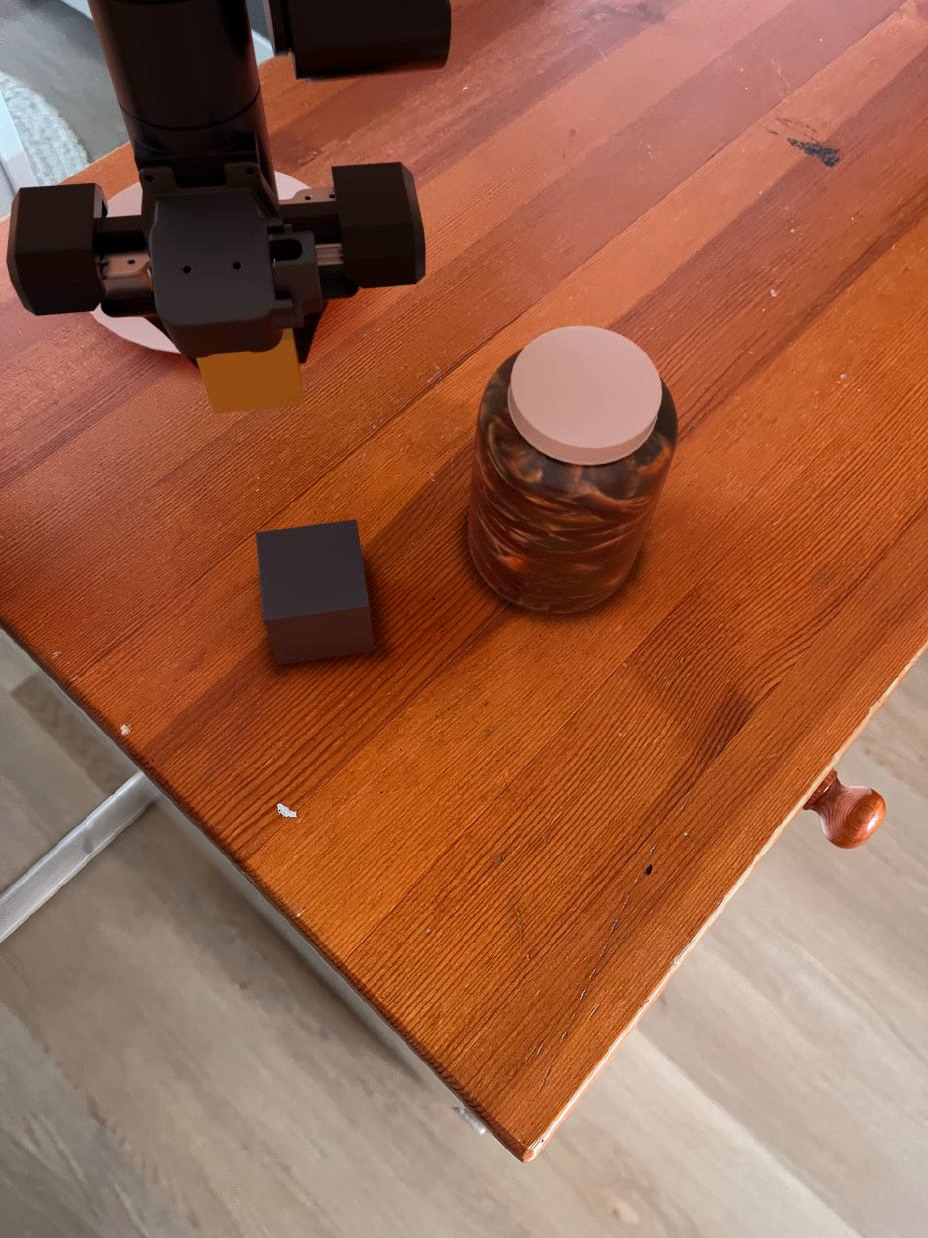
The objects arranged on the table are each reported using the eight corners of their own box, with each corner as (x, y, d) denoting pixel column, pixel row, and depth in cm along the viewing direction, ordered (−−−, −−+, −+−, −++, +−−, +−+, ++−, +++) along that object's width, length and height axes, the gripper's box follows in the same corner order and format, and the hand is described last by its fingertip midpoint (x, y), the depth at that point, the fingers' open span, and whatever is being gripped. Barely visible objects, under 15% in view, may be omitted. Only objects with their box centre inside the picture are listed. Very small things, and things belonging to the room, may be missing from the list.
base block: (278, 665, 56) (263, 620, 50) (270, 582, 58) (255, 531, 53) (375, 651, 56) (369, 605, 51) (362, 570, 59) (356, 518, 54)
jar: (673, 563, 60) (742, 415, 47) (529, 644, 57) (560, 510, 44) (571, 442, 65) (609, 275, 51) (432, 511, 61) (434, 352, 48)
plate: (170, 420, 64) (162, 398, 62) (34, 254, 71) (23, 230, 69) (403, 294, 71) (402, 271, 69) (257, 154, 78) (252, 130, 76)
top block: (213, 414, 50) (192, 348, 45) (210, 347, 52) (190, 277, 47) (304, 405, 50) (292, 339, 46) (297, 339, 52) (286, 269, 48)
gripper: (-78, 241, 32) (74, 499, 45) (447, 202, 34) (440, 460, 48) (-47, 53, 37) (81, 336, 51) (407, 29, 39) (411, 308, 53)
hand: (253, 362), depth 50 cm, fingers closed on top block, 5 cm apart
